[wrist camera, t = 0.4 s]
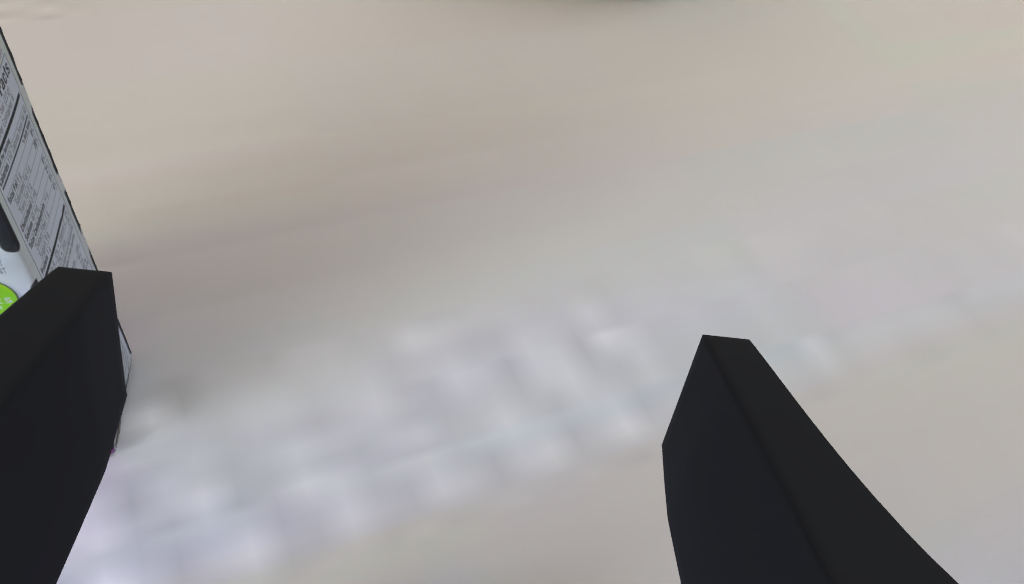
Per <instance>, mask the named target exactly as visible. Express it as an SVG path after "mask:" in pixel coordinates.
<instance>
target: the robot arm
mask: <svg viewBox="0 0 1024 584" xmlns="http://www.w3.org/2000/svg"><path fill="white" fill-rule="evenodd" d="M126 397H127V393H126V384H125V376H124V368H123V360H122V352H121V344H120V336H119V327H118V319H117V311H116V303H115V295H114V287H113V279H112V272H106V271H96V270H87V269H77V268H68V267H59V266H58V267H57V268H55V269H54V270H53V271H51V272H50V273H49V274H48V275H46V276H45V277H44V278H43V279H42V280H40V281H39V282H38V283H37V284H36V285H34V286H33V287H32V288H31V289H30V290H28V291H27V292H26V293H25V294H24V295H23V296H21V297H20V298H19V299H18V300H17V301H16V302H14V303H13V304H12V305H11V306H10V307H9V308H7V309H6V310H5V311H4V312H3V313H1V314H0V584H56V583H57V581H58V578H59V576H60V574H61V571H62V569H63V567H64V565H65V562H66V560H67V558H68V556H69V553H70V551H71V549H72V546H73V544H74V542H75V540H76V537H77V535H78V533H79V531H80V528H81V526H82V524H83V521H84V519H85V517H86V514H87V512H88V510H89V508H90V505H91V503H92V501H93V498H94V496H95V494H96V491H97V489H98V487H99V484H100V482H101V480H102V477H103V475H104V472H105V470H106V467H107V463H108V460H109V457H110V453H111V450H112V447H113V443H114V440H115V437H116V433H117V429H118V426H119V422H120V419H121V415H122V411H123V408H124V404H125V401H126ZM662 453H663V468H664V483H665V494H666V505H667V516H668V522H669V527H670V532H671V537H672V542H673V547H674V551H675V556H676V561H677V566H678V571H679V575H680V580H681V584H958V583H957V582H956V581H955V580H954V579H953V578H952V577H951V576H950V575H949V574H948V573H947V572H946V571H945V570H944V569H943V568H942V567H941V566H940V565H938V564H937V563H936V562H935V561H934V560H933V559H932V558H931V557H930V556H929V555H928V554H927V553H926V552H925V551H924V550H923V549H922V548H921V547H920V546H919V545H918V544H917V542H916V541H915V540H914V539H913V538H912V537H911V536H910V535H909V534H908V533H907V532H906V531H905V530H904V529H903V528H902V527H901V525H900V524H899V523H898V522H897V521H896V520H895V519H894V518H893V517H892V516H891V514H890V513H889V512H888V511H887V510H886V509H885V508H884V507H883V506H882V505H881V503H880V502H879V501H878V500H877V499H876V498H875V497H874V496H873V495H872V493H871V492H870V491H869V490H868V489H867V488H866V486H865V485H864V484H863V483H862V482H861V481H860V479H859V478H858V477H857V476H856V475H855V474H854V472H853V471H852V470H851V469H850V468H849V466H848V465H847V464H846V463H845V462H844V460H843V459H842V458H841V457H840V456H839V454H838V453H837V452H836V451H835V449H834V448H833V447H832V446H831V444H830V443H829V442H828V441H827V440H826V438H825V437H824V436H823V435H822V433H821V432H820V431H819V429H818V428H817V427H816V426H815V424H814V423H813V422H812V421H811V419H810V418H809V417H808V415H807V414H806V413H805V411H804V410H803V409H802V408H801V406H800V405H799V404H798V402H797V401H796V400H795V398H794V397H793V396H792V395H791V393H790V392H789V391H788V389H787V388H786V387H785V385H784V384H783V383H782V381H781V380H780V379H779V377H778V376H777V375H776V373H775V372H774V371H773V370H772V368H771V367H770V366H769V364H768V363H767V362H766V360H765V359H764V358H763V356H762V355H761V354H760V353H759V351H758V350H757V349H756V347H755V346H754V345H753V344H752V342H751V341H750V340H748V339H739V338H729V337H720V336H711V335H702V338H701V341H700V343H699V346H698V349H697V351H696V354H695V357H694V359H693V362H692V365H691V368H690V370H689V373H688V376H687V378H686V381H685V384H684V387H683V389H682V392H681V395H680V397H679V400H678V403H677V405H676V408H675V411H674V414H673V416H672V419H671V422H670V424H669V427H668V430H667V433H666V435H665V438H664V441H663V443H662Z"/></svg>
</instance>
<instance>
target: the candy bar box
mask: <svg viewBox="0 0 1024 584" xmlns="http://www.w3.org/2000/svg"><path fill="white" fill-rule="evenodd" d="M58 266H59V267H68V268H77V269H87V270H96V271H98V270H97V267H96V265H95V262H94V260H93V257H92V255H91V252H90V250H89V247H88V245H87V242H86V240H85V237H84V235H83V232H82V230H81V227H80V224H79V222H78V220H77V217H76V215H75V213H74V210H73V208H72V205H71V201H70V199H69V197H68V195H67V192H66V189H65V187H64V185H63V183H62V180H61V177H60V175H59V173H58V170H57V168H56V165H55V163H54V161H53V158H52V155H51V152H50V150H49V148H48V146H47V143H46V140H45V138H44V135H43V133H42V131H41V129H40V126H39V123H38V121H37V118H36V116H35V114H34V111H33V108H32V105H31V103H30V100H29V98H28V95H27V93H26V90H25V87H24V84H23V83H22V79H21V76H20V74H19V72H18V70H17V67H16V64H15V61H14V58H13V55H12V53H11V51H10V49H9V47H8V44H7V42H6V40H5V37H4V35H3V32H2V29H1V27H0V314H1V313H3V312H4V311H5V310H6V309H7V308H9V307H10V306H11V305H12V304H13V303H14V302H16V301H17V300H18V299H19V298H20V297H21V296H23V295H24V294H25V293H26V292H27V291H28V290H30V289H31V288H32V287H33V286H34V285H36V284H37V283H38V282H39V281H40V280H42V279H43V278H44V277H45V276H46V275H48V274H49V273H50V272H51V271H53V270H54V269H55V268H57V267H58ZM117 319H118V318H117ZM118 327H119V336H120V344H121V352H122V360H123V368H124V376H125V384H126V386H127V381H128V376H129V368H130V363H131V359H132V354H131V350H130V348H129V345H128V343H127V340H126V337H125V335H124V333H123V330H122V328H121V325H120V323H119V320H118ZM120 423H121V419H120V422H119V426H118V429H117V433H116V437H115V440H114V443H113V447H112V450H111V453H113V452H115V451H116V446H117V442H118V437H119V433H120Z"/></svg>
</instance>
